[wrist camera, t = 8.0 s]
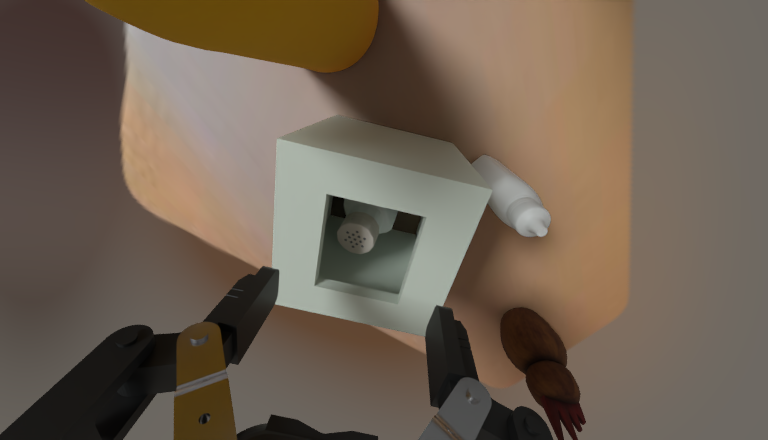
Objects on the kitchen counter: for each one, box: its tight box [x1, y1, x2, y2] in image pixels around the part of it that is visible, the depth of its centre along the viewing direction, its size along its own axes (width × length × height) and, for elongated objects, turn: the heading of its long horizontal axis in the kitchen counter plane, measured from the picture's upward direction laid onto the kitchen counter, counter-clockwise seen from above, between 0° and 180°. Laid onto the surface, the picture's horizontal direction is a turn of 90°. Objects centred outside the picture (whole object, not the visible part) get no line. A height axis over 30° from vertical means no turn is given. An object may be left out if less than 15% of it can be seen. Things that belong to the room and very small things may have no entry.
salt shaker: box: [337, 198, 398, 254], centre depth 25 cm, size 4×4×10 cm
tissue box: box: [272, 115, 493, 337], centre depth 24 cm, size 12×12×14 cm
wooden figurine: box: [500, 308, 586, 440], centre depth 30 cm, size 7×6×15 cm
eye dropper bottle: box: [471, 155, 551, 237], centre depth 23 cm, size 4×6×12 cm
